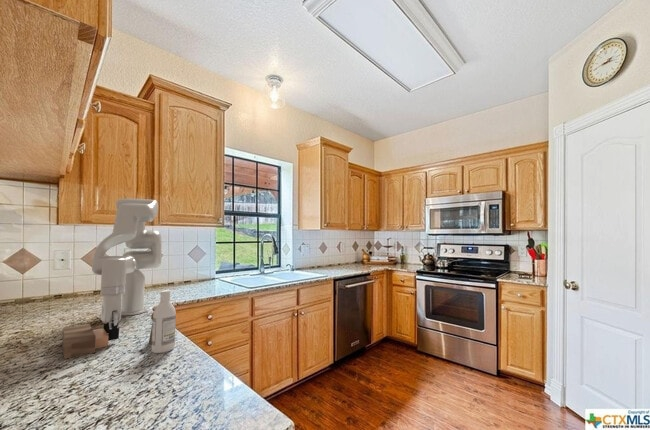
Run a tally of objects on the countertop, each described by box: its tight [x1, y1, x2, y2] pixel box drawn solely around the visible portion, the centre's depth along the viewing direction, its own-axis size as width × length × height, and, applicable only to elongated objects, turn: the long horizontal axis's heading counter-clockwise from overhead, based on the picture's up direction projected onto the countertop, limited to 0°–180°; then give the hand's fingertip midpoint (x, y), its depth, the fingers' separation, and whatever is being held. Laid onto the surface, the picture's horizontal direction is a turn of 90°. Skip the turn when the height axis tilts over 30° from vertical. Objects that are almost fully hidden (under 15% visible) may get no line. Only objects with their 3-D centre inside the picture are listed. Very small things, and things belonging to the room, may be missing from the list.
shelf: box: [61, 323, 96, 359], centre depth 99 cm, size 19×8×5 cm, turn 45°
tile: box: [92, 327, 109, 350], centre depth 101 cm, size 12×10×4 cm
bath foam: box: [151, 289, 177, 354], centre depth 97 cm, size 7×7×20 cm
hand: (110, 336), depth 105 cm, fingers open, 9 cm apart
